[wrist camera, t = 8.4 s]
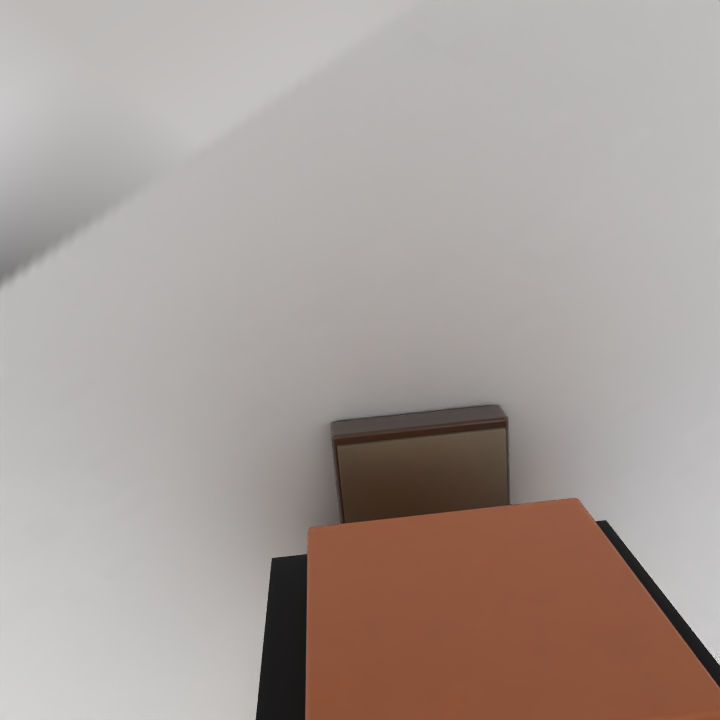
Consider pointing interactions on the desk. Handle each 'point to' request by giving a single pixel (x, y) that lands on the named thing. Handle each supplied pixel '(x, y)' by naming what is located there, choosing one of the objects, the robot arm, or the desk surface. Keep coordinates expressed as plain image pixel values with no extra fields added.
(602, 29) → the desk surface
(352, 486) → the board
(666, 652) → the striped orange block
